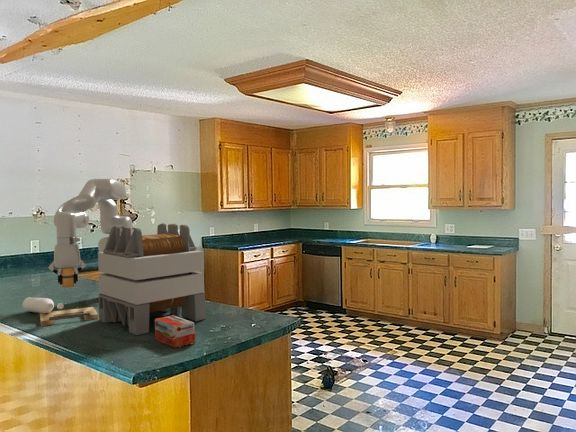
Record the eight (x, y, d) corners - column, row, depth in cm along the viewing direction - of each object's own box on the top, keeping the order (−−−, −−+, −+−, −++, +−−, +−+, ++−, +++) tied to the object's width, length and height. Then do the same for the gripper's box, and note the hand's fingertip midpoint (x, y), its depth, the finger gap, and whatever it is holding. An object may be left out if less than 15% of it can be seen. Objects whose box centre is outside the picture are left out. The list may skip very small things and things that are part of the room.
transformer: (207, 319, 203) (205, 224, 201) (136, 336, 180) (133, 228, 178) (165, 306, 227) (163, 221, 225) (97, 320, 204) (94, 225, 202)
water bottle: (21, 311, 219) (41, 314, 202) (23, 297, 220) (43, 298, 203) (41, 311, 225) (62, 313, 208) (42, 297, 226) (64, 298, 209)
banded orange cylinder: (74, 285, 207) (73, 266, 207) (75, 286, 203) (74, 268, 203) (61, 286, 205) (60, 267, 205) (62, 288, 201) (61, 269, 200)
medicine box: (195, 344, 170) (195, 321, 169) (175, 349, 164) (175, 326, 164) (173, 335, 181) (173, 314, 180) (154, 340, 175) (153, 318, 175)
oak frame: (93, 311, 220) (93, 304, 220) (98, 318, 206) (98, 311, 206) (39, 317, 210) (39, 310, 210) (40, 326, 196) (40, 318, 195)
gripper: (87, 239, 211) (88, 280, 211) (44, 241, 203) (45, 284, 203) (89, 240, 204) (90, 283, 205) (44, 243, 196) (46, 287, 197)
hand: (68, 283), depth 204 cm, fingers closed on banded orange cylinder, 5 cm apart
